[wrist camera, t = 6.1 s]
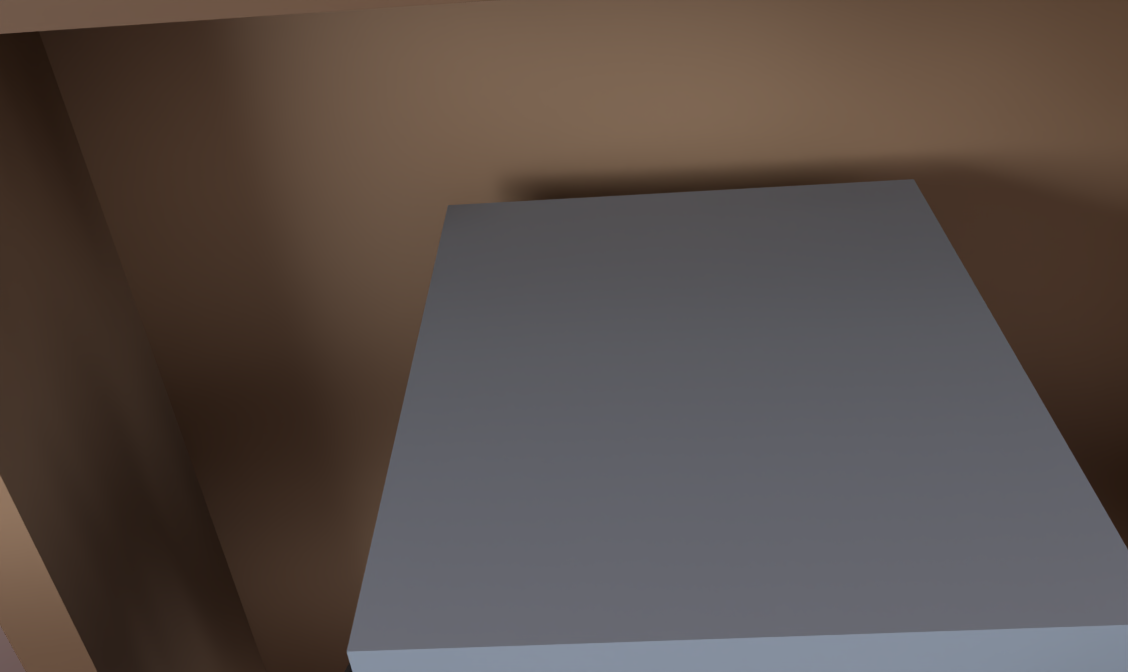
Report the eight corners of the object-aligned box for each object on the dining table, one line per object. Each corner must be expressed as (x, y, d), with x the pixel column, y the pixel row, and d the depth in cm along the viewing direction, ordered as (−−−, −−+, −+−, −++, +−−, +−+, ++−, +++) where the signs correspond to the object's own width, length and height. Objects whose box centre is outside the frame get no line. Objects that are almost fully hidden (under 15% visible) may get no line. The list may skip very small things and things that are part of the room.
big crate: (1089, 725, 19) (1210, 990, 16) (280, 751, 20) (212, 1010, 16) (1432, -285, 10) (1907, -223, 7) (-58, -170, 11) (-378, -57, 7)
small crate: (851, 666, 16) (973, 1148, 11) (517, 677, 16) (488, 1153, 11) (913, 179, 11) (1171, 622, 6) (447, 205, 12) (347, 652, 7)
